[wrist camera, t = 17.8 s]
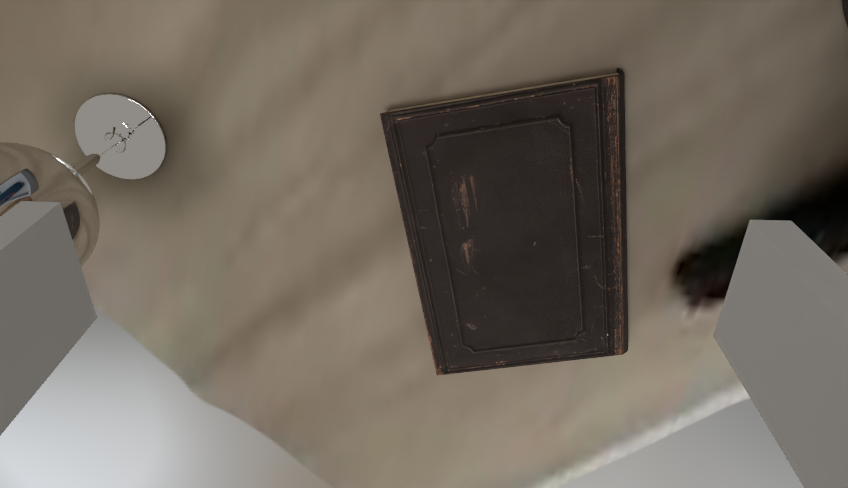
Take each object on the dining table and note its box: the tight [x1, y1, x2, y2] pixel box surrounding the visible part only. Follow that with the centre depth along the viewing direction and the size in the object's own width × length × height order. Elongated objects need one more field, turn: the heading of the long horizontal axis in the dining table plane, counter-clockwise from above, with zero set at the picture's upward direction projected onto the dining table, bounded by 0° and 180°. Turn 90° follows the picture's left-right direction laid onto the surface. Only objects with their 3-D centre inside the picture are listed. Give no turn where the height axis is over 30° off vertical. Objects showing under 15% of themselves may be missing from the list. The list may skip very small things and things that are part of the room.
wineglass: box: [0, 93, 166, 267], centre depth 36 cm, size 8×8×18 cm
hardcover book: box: [380, 68, 628, 375], centre depth 46 cm, size 16×23×2 cm
